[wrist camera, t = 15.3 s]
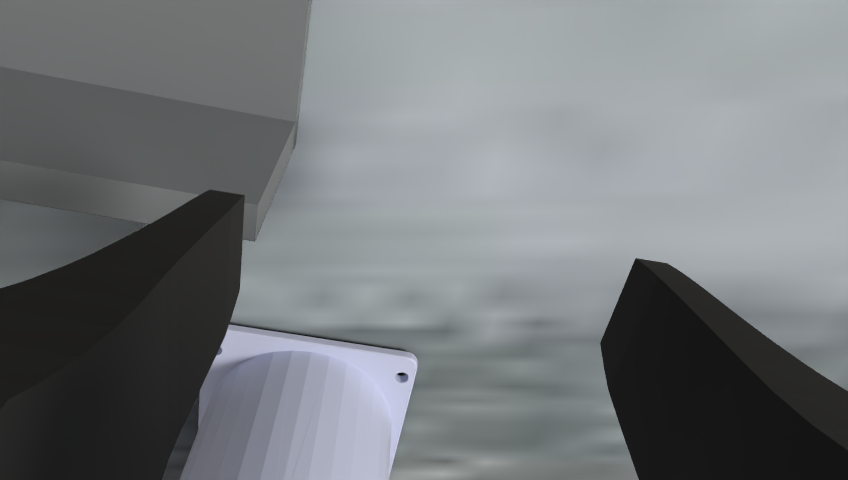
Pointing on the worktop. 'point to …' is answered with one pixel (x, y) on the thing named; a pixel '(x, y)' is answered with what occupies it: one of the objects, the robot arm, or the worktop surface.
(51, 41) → the case
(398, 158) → the worktop surface
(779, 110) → the worktop surface
